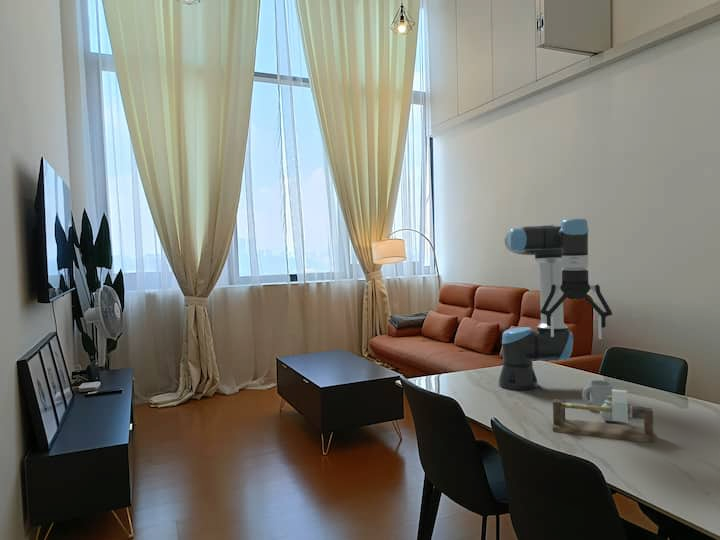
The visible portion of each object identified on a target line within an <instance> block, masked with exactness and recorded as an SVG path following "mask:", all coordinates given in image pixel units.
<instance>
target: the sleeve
mask: <svg viewBox="0 0 720 540" xmlns="http://www.w3.org/2000/svg"><path fill="white" fill-rule="evenodd" d="M628 409H629V405H628V390H626V389H615V388H613V389H612V419H613V421H615V422H619V423H621V422H622V423H629V414H628Z"/></svg>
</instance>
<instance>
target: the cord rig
mask: <svg viewBox="0 0 720 540" xmlns="http://www.w3.org/2000/svg"><path fill="white" fill-rule="evenodd" d="M566 409H574V410H575V409H576V410H585V411H596V412H600V411H604V412H612V407H601V406H591V405H586V404H579V403H567V402H566V401H565V400H561V399H557V398H556V399H555V398H553V401H552V417H553V419H552V420H553V423H552V432H558V433H568V434H573V435H575V434H576V435H584V436H590V437H591V436H593V437H600V438H609V439H610V438H611V439H617V440H627V441H634V442H642V443H651V444H654V443H655V437H654V411H653V408H651V407H645V406H638V405H637V406H636V405H628V419H629V418H630V419H639V420H643V421H644V422H643V426H635V425H626V424H625V425H624V424H618V423H617V424H616V423H607V422H600V421H599V422H598V421H590V420H589V421H588V420H580V419H579V420H578V419H571V418H570V419H569V418H566Z"/></svg>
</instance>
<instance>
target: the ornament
mask: <svg viewBox="0 0 720 540" xmlns="http://www.w3.org/2000/svg"><path fill="white" fill-rule="evenodd" d="M602 393H603V395H604V393H605V392H604V391H603V392H602ZM597 397H598V399H599V397H600V396H599V394H598V396H597ZM607 398H608V399H607V400H605V402H606V403H604V404H603V405H602V406H601V407H612V396H607ZM599 404H602V403H599ZM599 414H600V416H601V418H602V419H603V420H604V421H605V422H609V423H614V422H616V421H613V419H612V412H604V411H599Z"/></svg>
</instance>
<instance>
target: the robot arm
mask: <svg viewBox="0 0 720 540" xmlns="http://www.w3.org/2000/svg"><path fill="white" fill-rule="evenodd" d="M588 226H589V225H588V220H587V219H585V218H569V219H563V220H561V225H558V224H557V225H556V224H555V225H553V224H552V225H550V224H549V225H539V226H538V225H536V226H534V225H533V226H521V227H515V228H514V227H513V228H510V230H509V231H508V232H507V233H506V236H505V238H504V244H505V248H506V249H507V250H508V251H509V252H512V253H513V254H518V255H523V256H534V260H535V261H536V262H538V266H539V271H538V273H539V297H540V298H539V299H540V323H538V325H537V326H536V331H534V330H533V329H532V327H530V326H526V327H524V326H522V327H521V326H520V327H512V328H508V329H506V330H504V331H503V332H502V336H501V337H502V339H501V344H502V368H501V370H500V374H499V377H498V385H499V387H501V388H504V389H507V390H508V389H509V390H514V391H529V390H535V389H537V388H538V385H539V384H538V379H537V376H536V372H535V370H534V364H533V361H556V362H559V361H568V360H569V359H570V358H571V356H572V352H573V347H574V335H573V332H572V331H571V330H569V326H567V324H565V322H564V301H566V299H569V300H582V299H584V300H585V301H586V302H587V303H588V304H589V305H590V306H591V307H592V308H593V309H594V310H595V311H596V312H597V314H599V315H600V316H599V315H598V317H597V318H598V319H597V322H598V325H597V327H598V335H597V336H598V340H602V329H603V328H604V329H605V328H606V324H607V323H606V318H607V317H609V316H612V315H613V312H612V310H611V308H610V307H609V305H608V302H607V301H606V299H605V298H604V295H603V294H602V292H601V289H600V288H601V286H600V285H599V284H598V283H597V284H593V285H590V284H589V270H588V268H589V227H588ZM590 290H592V292H593V293H595V294H596V296H597V297H598V299H599V301H600V303H601V305H602V306H603V308H604V310H605V311H604V310H602V308H601V307H600V306H599V305H598V304H597V303H596V302H595V301H594V300H593V299H592V298H591V297H590V296H589V295H588V292H589V291H590Z"/></svg>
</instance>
